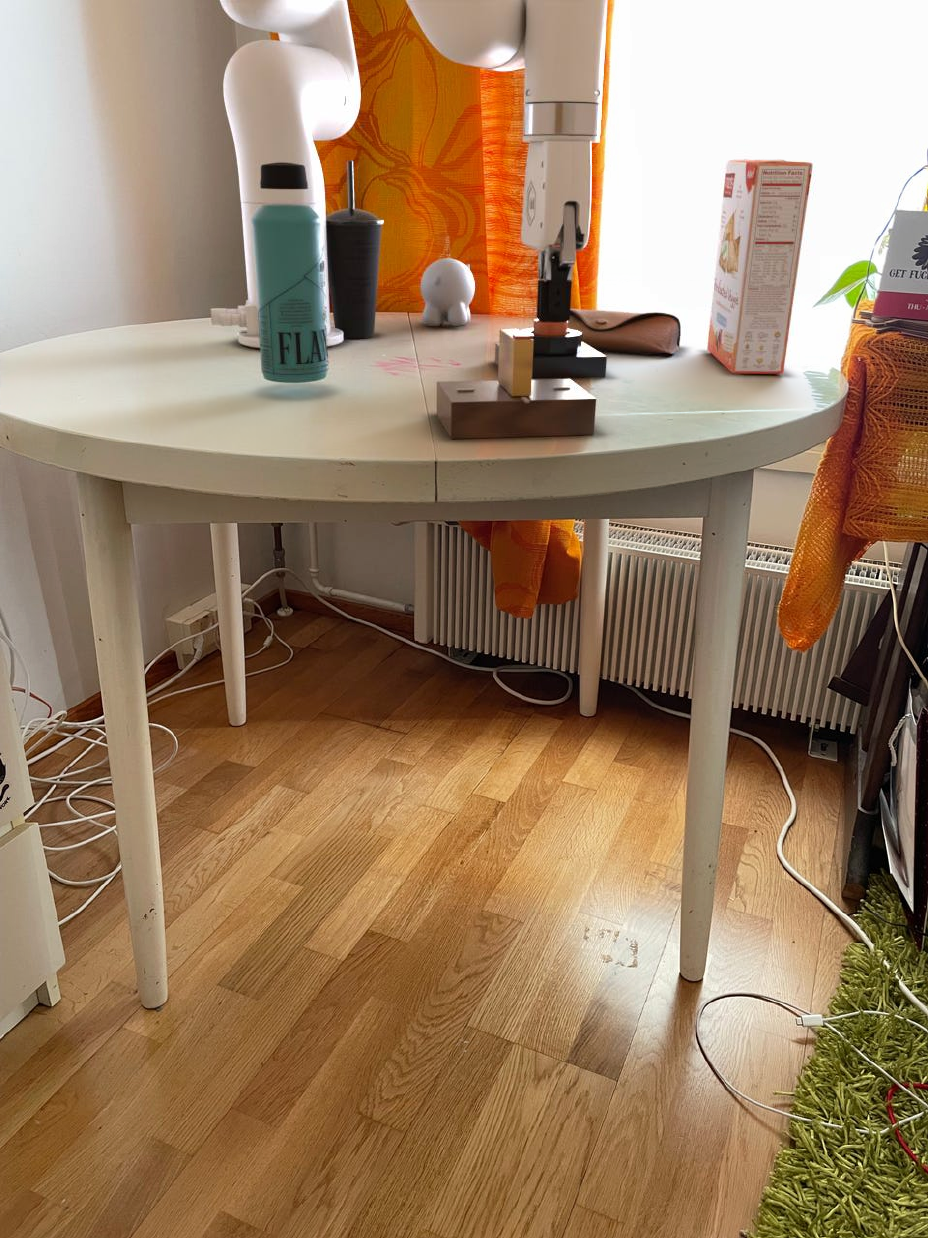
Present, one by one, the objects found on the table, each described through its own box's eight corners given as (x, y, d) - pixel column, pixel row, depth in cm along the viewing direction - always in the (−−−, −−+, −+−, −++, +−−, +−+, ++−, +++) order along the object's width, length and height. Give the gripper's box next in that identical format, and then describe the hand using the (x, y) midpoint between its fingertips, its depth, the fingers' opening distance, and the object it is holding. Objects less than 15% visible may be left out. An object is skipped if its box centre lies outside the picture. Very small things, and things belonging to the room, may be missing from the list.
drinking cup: (375, 342, 121) (372, 161, 112) (316, 339, 122) (308, 160, 113) (392, 332, 127) (390, 161, 119) (335, 329, 129) (329, 160, 120)
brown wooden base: (452, 441, 79) (453, 402, 78) (435, 413, 88) (435, 377, 86) (597, 437, 81) (599, 399, 80) (565, 410, 90) (567, 374, 88)
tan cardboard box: (497, 382, 85) (499, 326, 83) (515, 382, 86) (517, 325, 84) (512, 396, 80) (514, 336, 78) (531, 396, 81) (533, 336, 79)
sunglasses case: (521, 343, 118) (530, 290, 118) (531, 365, 124) (539, 314, 125) (674, 354, 113) (682, 298, 114) (675, 375, 120) (683, 323, 121)
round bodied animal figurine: (487, 317, 140) (488, 254, 137) (466, 330, 130) (467, 261, 126) (438, 315, 142) (438, 252, 138) (414, 327, 131) (413, 259, 128)
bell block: (512, 379, 101) (513, 339, 100) (494, 363, 109) (495, 325, 108) (605, 377, 103) (608, 338, 101) (581, 361, 111) (584, 324, 109)
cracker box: (702, 351, 118) (724, 158, 109) (753, 352, 118) (779, 159, 109) (727, 374, 106) (754, 158, 97) (784, 376, 105) (816, 159, 96)
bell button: (537, 340, 103) (538, 323, 102) (529, 334, 106) (530, 317, 105) (571, 339, 103) (572, 322, 103) (562, 334, 107) (563, 317, 106)
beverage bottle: (273, 401, 91) (257, 162, 82) (252, 387, 96) (235, 161, 88) (340, 395, 94) (331, 163, 85) (316, 382, 99) (305, 162, 90)
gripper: (507, 127, 102) (503, 311, 110) (542, 122, 89) (535, 332, 97) (577, 128, 104) (568, 310, 111) (622, 123, 90) (608, 330, 98)
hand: (553, 320), depth 104 cm, fingers closed
